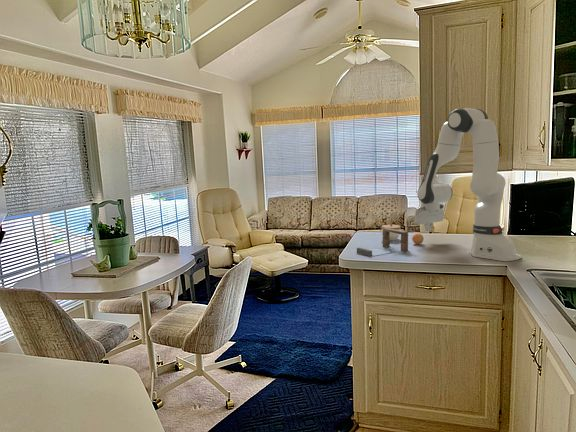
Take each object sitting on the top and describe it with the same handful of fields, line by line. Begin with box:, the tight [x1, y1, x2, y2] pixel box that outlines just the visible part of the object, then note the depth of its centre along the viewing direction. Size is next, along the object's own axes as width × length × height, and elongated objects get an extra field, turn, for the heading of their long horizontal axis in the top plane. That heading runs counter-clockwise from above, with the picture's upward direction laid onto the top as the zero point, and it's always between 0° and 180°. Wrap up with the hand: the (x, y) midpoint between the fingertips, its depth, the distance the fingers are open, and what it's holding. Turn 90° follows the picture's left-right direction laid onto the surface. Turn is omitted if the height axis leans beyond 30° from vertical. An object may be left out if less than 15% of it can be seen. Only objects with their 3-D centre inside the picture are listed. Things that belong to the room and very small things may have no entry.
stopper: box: [356, 247, 372, 257], centre depth 216 cm, size 9×2×2 cm, turn 32°
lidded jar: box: [381, 223, 402, 241], centre depth 249 cm, size 11×11×9 cm
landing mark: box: [368, 248, 393, 257], centre depth 220 cm, size 12×12×1 cm
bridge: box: [382, 228, 409, 252], centre depth 226 cm, size 3×15×10 cm, turn 32°
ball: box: [411, 232, 424, 245], centre depth 235 cm, size 6×6×6 cm
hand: (428, 230), depth 240 cm, fingers closed
